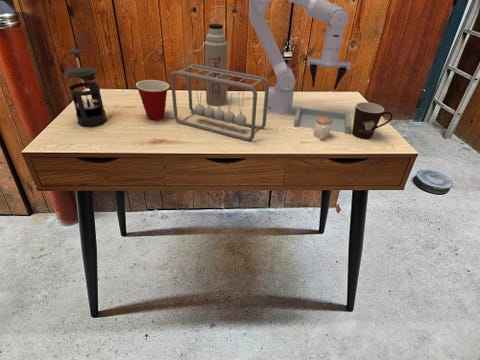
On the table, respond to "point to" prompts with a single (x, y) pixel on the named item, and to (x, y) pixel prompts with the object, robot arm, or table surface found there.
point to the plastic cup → (153, 98)
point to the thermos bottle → (216, 64)
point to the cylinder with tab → (322, 127)
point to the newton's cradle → (219, 113)
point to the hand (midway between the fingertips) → (324, 87)
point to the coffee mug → (367, 119)
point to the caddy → (308, 116)
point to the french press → (87, 105)
